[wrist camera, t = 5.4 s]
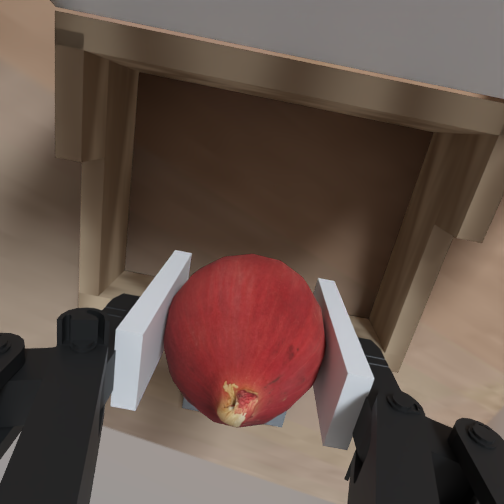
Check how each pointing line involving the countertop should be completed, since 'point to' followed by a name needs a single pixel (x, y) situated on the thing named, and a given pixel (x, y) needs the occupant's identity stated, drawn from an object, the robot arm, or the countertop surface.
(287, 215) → the countertop surface
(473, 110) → the box
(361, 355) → the robot arm
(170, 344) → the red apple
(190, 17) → the lid
